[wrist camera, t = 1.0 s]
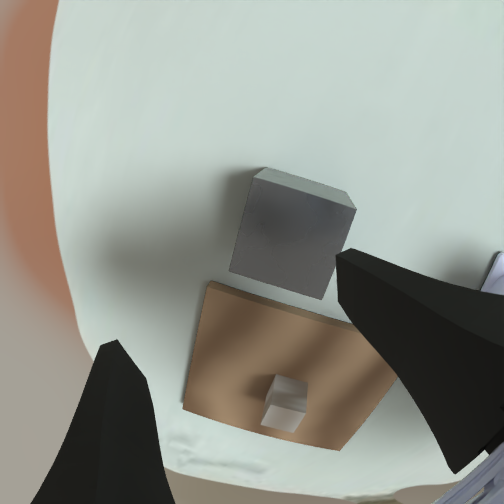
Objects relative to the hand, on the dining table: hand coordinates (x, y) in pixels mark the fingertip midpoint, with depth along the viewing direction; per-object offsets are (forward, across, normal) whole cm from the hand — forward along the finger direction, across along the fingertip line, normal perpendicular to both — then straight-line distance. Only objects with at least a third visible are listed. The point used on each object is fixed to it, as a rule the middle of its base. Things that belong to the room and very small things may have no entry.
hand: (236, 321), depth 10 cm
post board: (+8, -3, +17) cm, 19 cm away
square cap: (+10, -6, +3) cm, 13 cm away
